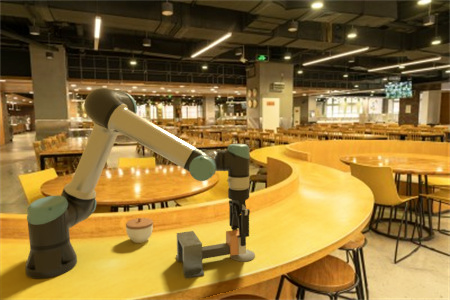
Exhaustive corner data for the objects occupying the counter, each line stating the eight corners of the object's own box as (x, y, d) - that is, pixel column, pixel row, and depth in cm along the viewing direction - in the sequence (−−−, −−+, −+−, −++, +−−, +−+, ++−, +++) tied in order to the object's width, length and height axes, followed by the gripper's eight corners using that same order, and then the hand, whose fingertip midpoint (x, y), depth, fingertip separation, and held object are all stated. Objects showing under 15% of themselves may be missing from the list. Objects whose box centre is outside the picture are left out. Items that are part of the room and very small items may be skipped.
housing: (176, 257, 108) (175, 231, 107) (192, 254, 110) (191, 228, 109) (185, 278, 94) (185, 249, 92) (204, 275, 96) (203, 246, 95)
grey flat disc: (226, 252, 111) (226, 251, 111) (248, 248, 115) (248, 247, 115) (236, 263, 103) (235, 262, 103) (259, 259, 106) (259, 257, 106)
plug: (191, 255, 105) (190, 236, 104) (238, 247, 111) (238, 229, 110) (194, 261, 100) (194, 241, 99) (243, 253, 106) (243, 234, 105)
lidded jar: (155, 234, 129) (155, 213, 127) (150, 245, 118) (149, 222, 117) (130, 235, 128) (129, 214, 127) (123, 245, 118) (122, 223, 116)
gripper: (220, 183, 112) (220, 241, 115) (238, 194, 95) (239, 263, 98) (238, 181, 115) (238, 238, 118) (259, 192, 98) (259, 259, 101)
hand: (238, 249), depth 108 cm, fingers closed on plug, 5 cm apart
